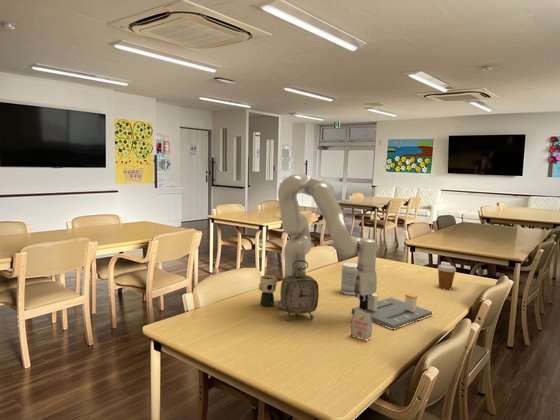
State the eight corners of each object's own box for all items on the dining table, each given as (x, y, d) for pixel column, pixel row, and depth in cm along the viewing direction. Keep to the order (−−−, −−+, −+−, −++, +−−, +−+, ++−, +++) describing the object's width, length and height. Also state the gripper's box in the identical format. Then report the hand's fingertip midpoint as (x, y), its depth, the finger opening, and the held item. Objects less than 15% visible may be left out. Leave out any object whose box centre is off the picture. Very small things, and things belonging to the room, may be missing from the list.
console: (393, 330, 163) (393, 325, 163) (351, 312, 180) (352, 308, 180) (431, 316, 180) (432, 311, 180) (390, 301, 197) (390, 297, 197)
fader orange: (412, 312, 177) (413, 297, 176) (403, 309, 180) (405, 294, 180) (416, 311, 179) (417, 296, 178) (407, 308, 182) (408, 293, 181)
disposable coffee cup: (457, 290, 219) (459, 269, 218) (439, 289, 219) (441, 268, 218) (450, 285, 229) (452, 264, 227) (433, 284, 229) (435, 263, 228)
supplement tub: (362, 295, 204) (363, 267, 203) (343, 295, 203) (345, 267, 201) (355, 289, 214) (357, 262, 212) (338, 289, 213) (340, 262, 211)
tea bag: (355, 333, 159) (356, 308, 158) (371, 338, 155) (373, 312, 154) (350, 335, 156) (352, 310, 155) (366, 341, 152) (368, 315, 151)
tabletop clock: (284, 322, 166) (286, 263, 163) (278, 314, 175) (280, 257, 172) (317, 320, 170) (320, 262, 167) (310, 312, 178) (312, 256, 175)
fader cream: (373, 311, 176) (374, 296, 175) (365, 308, 180) (366, 293, 179) (377, 310, 178) (378, 295, 177) (369, 307, 181) (370, 292, 181)
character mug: (264, 309, 179) (265, 281, 178) (253, 305, 184) (254, 277, 183) (281, 304, 187) (282, 276, 186) (270, 300, 192) (271, 273, 190)
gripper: (361, 271, 165) (358, 315, 168) (384, 267, 175) (381, 308, 177) (347, 267, 171) (345, 309, 173) (370, 263, 180) (367, 303, 183)
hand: (363, 308), depth 175 cm, fingers closed
